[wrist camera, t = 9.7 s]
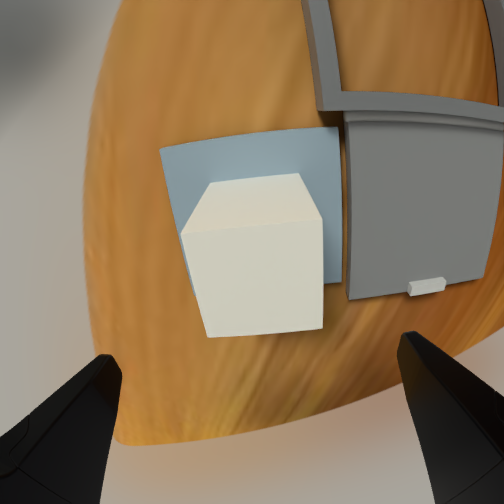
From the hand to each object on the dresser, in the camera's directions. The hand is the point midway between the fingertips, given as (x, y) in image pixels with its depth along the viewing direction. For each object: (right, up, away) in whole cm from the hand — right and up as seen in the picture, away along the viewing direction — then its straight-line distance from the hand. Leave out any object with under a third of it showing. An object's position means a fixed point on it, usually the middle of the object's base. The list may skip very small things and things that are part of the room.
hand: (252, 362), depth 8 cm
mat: (0, +5, +10) cm, 11 cm away
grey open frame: (+11, +13, +6) cm, 18 cm away
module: (0, +5, +9) cm, 11 cm away
